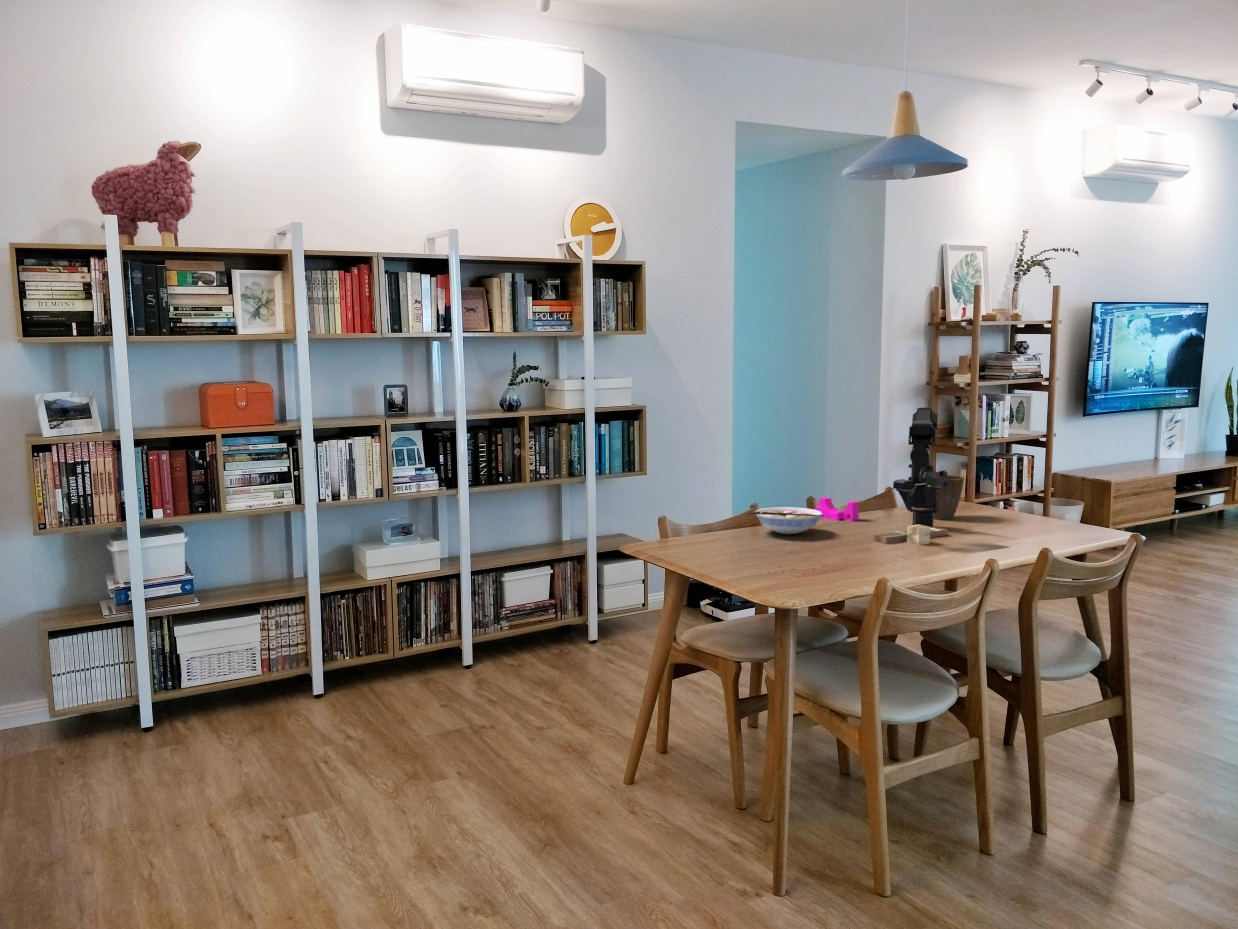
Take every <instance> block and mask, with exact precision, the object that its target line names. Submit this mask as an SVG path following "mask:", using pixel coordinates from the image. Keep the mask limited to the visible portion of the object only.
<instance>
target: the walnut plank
mask: <svg viewBox="0 0 1238 929" xmlns="http://www.w3.org/2000/svg"><path fill="white" fill-rule="evenodd" d="M948 532H949V530H948V529H946V528H941V527H938V526H933V527H930V539H931V538H939V537H938V536H940V537H946V536H945V535H947V536H948V534H949V533H948ZM904 534H907V530H899V531H897V530H895V531H893V532H892V531H891V532H883V533H876V534H873V535H872V541H873V542H877V543H881V544H884V545H885V544H886V545H887V544H894V543H903V542H904Z"/></svg>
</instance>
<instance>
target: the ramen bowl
mask: <svg viewBox="0 0 1238 929" xmlns="http://www.w3.org/2000/svg"><path fill="white" fill-rule="evenodd" d="M748 514H749V515H756V516H757V518H758V520H759V521H760V523H761V524H762V525H763V527H765V528H767V529H769V530H771V531H773V532H776V533H777V532H778V533H783V534H796V535H798V534H797V533H799V534H800V533H803V532H806V531H808V530H810V529H811V528H813V527H815V526H816V525H817V524H818V522H819V520H820V519H821V518H820V517H821V516H824V515H822V513H821V511H817V510H815V508H814V509H813V508H806V507H794V506H777V507H775V506H774V507H765V508H759V509H756V510H753V511H752V510H749V511H748ZM778 533H777V534H778Z"/></svg>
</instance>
